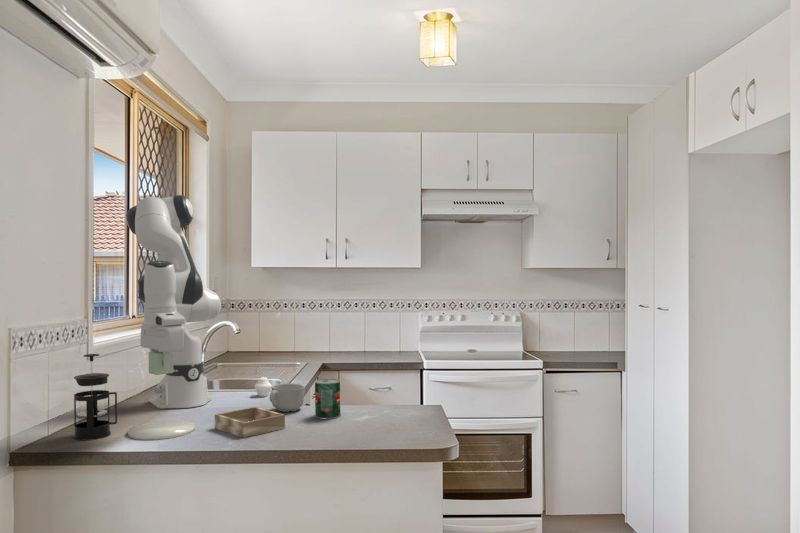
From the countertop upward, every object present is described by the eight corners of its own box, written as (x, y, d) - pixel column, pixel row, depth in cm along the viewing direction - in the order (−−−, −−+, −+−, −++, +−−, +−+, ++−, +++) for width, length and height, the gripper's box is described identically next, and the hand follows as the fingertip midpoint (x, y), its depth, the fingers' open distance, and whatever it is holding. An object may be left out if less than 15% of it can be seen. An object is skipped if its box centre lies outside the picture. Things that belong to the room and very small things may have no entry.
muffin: (267, 398, 229) (266, 378, 229) (251, 397, 231) (251, 377, 231) (274, 394, 235) (274, 375, 235) (259, 393, 237) (259, 374, 237)
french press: (68, 441, 174) (67, 357, 174) (73, 433, 183) (72, 353, 183) (115, 437, 178) (114, 354, 178) (118, 429, 187) (117, 350, 187)
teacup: (290, 405, 217) (289, 381, 217) (312, 409, 210) (311, 385, 210) (256, 412, 206) (256, 387, 206) (278, 417, 200) (278, 391, 200)
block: (148, 373, 184) (148, 352, 184) (165, 370, 188) (165, 350, 188) (156, 375, 181) (156, 353, 181) (173, 372, 184) (173, 351, 184)
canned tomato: (344, 416, 199) (344, 381, 199) (321, 420, 195) (320, 384, 195) (334, 412, 206) (333, 377, 206) (311, 415, 202) (310, 380, 202)
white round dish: (117, 432, 184) (117, 428, 184) (177, 420, 197) (176, 417, 197) (144, 443, 171) (144, 440, 171) (206, 430, 184) (206, 427, 184)
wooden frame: (215, 428, 187) (214, 414, 187) (255, 419, 197) (255, 406, 197) (243, 437, 176) (243, 423, 176) (285, 428, 186) (284, 414, 186)
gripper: (134, 316, 189) (135, 363, 189) (165, 320, 175) (166, 370, 175) (155, 315, 194) (155, 360, 194) (187, 318, 179) (188, 367, 179)
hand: (161, 365), depth 184 cm, fingers closed on block, 5 cm apart
